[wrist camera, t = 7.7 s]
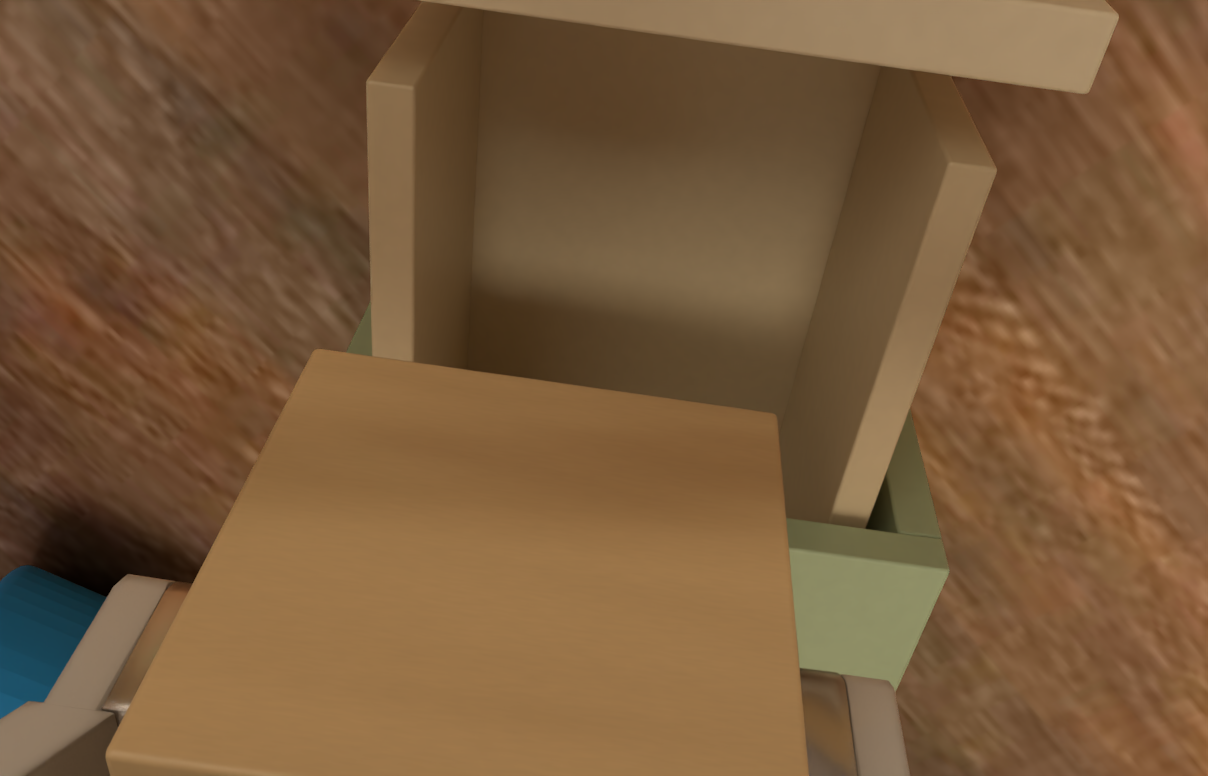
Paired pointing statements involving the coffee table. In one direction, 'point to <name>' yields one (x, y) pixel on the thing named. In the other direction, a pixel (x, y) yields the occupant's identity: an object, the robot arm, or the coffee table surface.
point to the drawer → (700, 200)
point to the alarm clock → (39, 632)
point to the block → (485, 590)
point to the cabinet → (856, 569)
